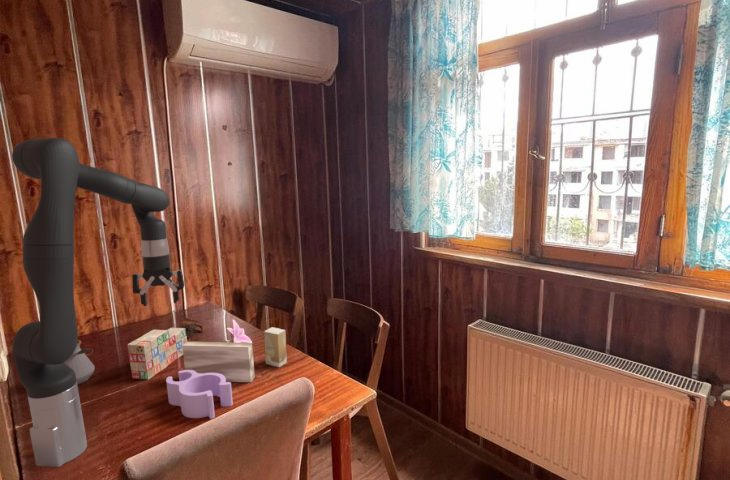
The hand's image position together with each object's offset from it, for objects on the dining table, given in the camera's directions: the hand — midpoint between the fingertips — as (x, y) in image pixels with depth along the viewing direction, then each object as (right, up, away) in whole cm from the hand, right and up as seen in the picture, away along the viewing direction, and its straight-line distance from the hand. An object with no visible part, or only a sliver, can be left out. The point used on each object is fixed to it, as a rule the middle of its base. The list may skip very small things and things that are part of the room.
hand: (160, 304), depth 126 cm
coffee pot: (-27, -27, +3) cm, 38 cm away
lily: (+16, -21, +28) cm, 38 cm away
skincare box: (+34, -23, +14) cm, 43 cm away
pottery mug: (-8, -20, +40) cm, 45 cm away
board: (+17, -25, +4) cm, 31 cm away
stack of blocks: (-8, -24, +16) cm, 30 cm away
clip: (+16, -28, -9) cm, 33 cm away
